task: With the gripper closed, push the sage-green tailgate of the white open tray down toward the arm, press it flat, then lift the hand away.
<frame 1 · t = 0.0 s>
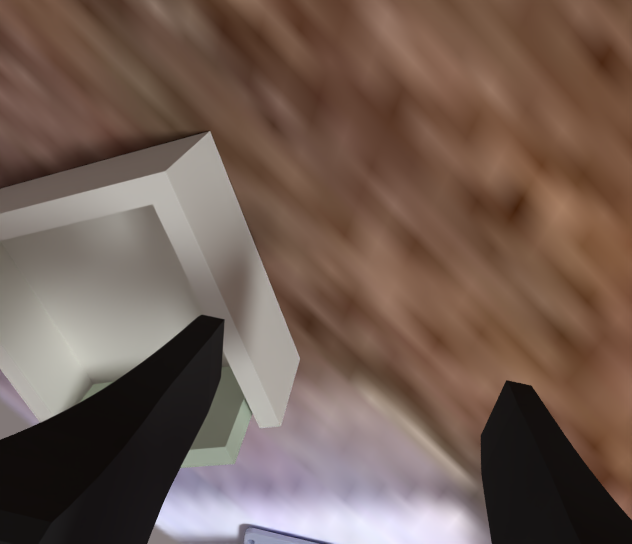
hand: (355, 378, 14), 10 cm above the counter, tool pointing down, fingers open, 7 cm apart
white open tray: (147, 279, 26), on the counter
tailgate: (157, 423, 25), point 4 cm above the counter, hinge at 0.0°
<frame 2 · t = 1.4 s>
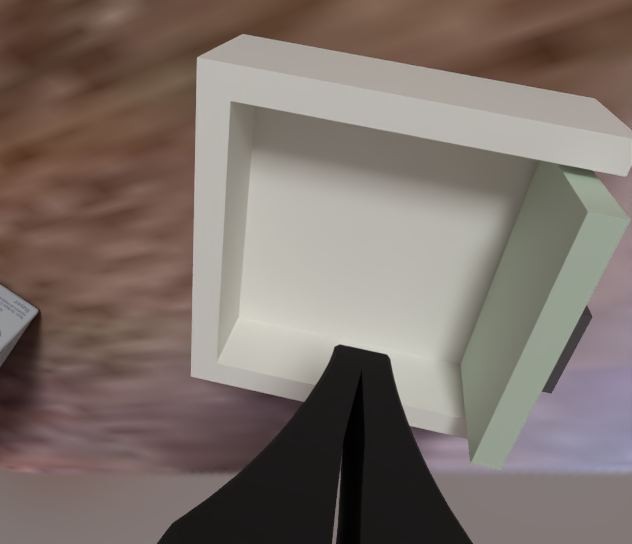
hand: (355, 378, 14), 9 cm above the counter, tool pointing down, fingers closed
white open tray: (378, 222, 21), on the counter
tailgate: (531, 313, 17), point 4 cm above the counter, hinge at 0.0°
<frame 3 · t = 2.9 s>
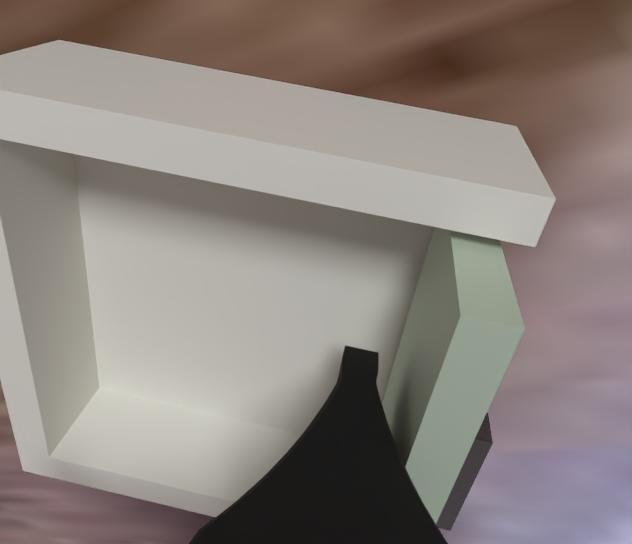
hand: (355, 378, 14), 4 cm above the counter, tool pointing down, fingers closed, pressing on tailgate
white open tray: (261, 276, 17), on the counter
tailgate: (430, 414, 13), point 4 cm above the counter, hinge at 0.4°, touching gripper
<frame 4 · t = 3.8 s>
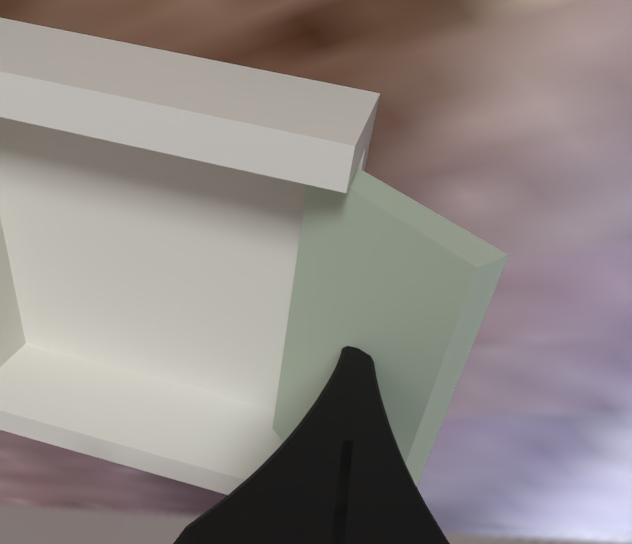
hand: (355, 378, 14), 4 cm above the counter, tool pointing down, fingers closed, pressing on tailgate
white open tray: (168, 239, 18), on the counter
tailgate: (366, 361, 14), point 4 cm above the counter, hinge at 50.3°, touching gripper
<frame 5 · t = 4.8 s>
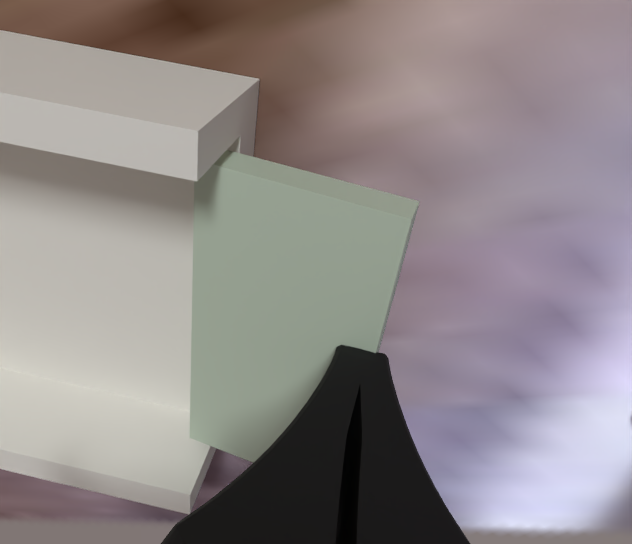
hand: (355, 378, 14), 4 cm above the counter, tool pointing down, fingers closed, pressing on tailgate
white open tray: (63, 236, 17), on the counter
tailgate: (287, 334, 15), point 2 cm above the counter, hinge at 80.5°, touching gripper
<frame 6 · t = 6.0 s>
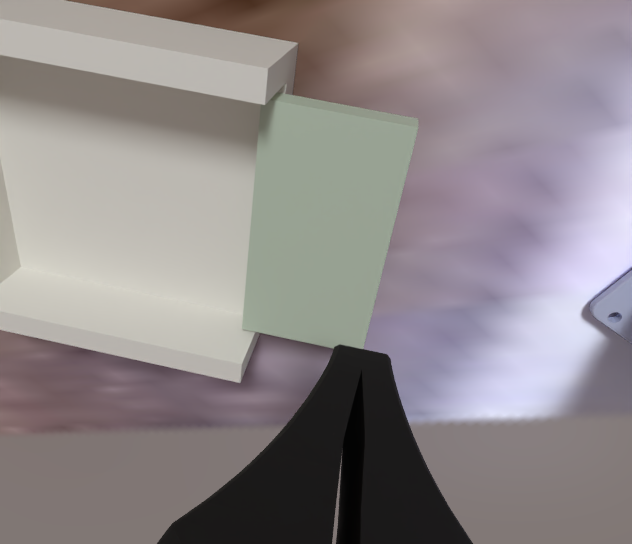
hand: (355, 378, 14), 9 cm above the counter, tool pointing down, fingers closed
white open tray: (138, 171, 22), on the counter
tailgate: (321, 232, 20), point 2 cm above the counter, hinge at 90.2°
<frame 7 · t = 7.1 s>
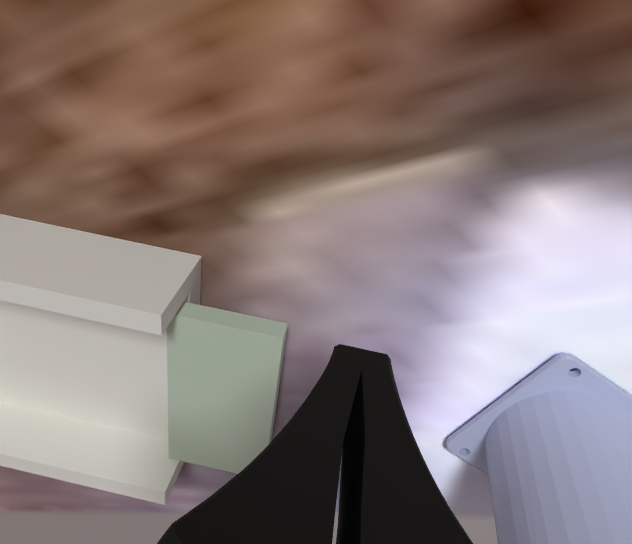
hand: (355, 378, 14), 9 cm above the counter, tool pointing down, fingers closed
white open tray: (86, 331, 27), on the counter
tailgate: (224, 392, 25), point 2 cm above the counter, hinge at 90.4°
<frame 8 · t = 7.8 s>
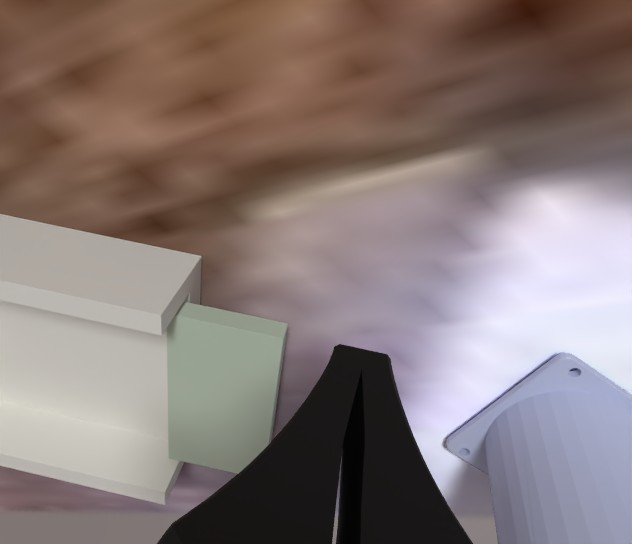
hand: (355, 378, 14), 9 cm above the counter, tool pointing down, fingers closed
white open tray: (86, 331, 27), on the counter
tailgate: (224, 392, 25), point 2 cm above the counter, hinge at 90.4°
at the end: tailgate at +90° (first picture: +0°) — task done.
